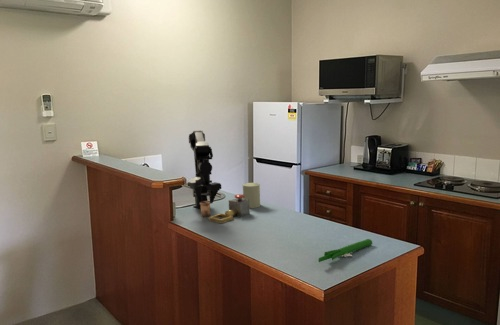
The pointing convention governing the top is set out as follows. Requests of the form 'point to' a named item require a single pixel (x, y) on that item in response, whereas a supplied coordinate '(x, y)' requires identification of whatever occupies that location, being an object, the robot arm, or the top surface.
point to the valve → (238, 206)
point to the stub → (205, 208)
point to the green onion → (345, 250)
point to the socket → (225, 219)
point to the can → (252, 194)
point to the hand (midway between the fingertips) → (205, 201)
